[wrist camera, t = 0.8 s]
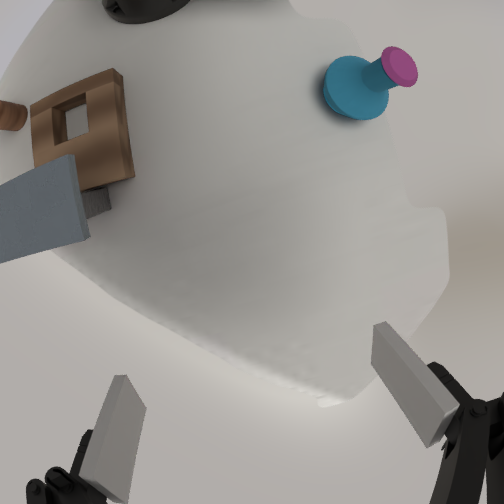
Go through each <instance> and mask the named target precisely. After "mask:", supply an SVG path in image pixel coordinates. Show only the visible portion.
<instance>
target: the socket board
mask: <svg viewBox="0 0 504 504" xmlns="http://www.w3.org/2000/svg"><path fill="white" fill-rule="evenodd" d="M84 103H86V104H87V116H88V127H89V132H88V133H86V134H83V135H80V136H78V137H75V138H73V139H70V140H67V130H66V117H65V111H68V110H70V109H72V108H74V107H77V106H79V105H82V104H84ZM30 118H31V136H32V148H33V158H34V166H35V168H37V167H39V166H41V165H43V164H45V163H48V162H50V161H52V160H55V159H57V158H59V157H62V156H64V155H67V154H72V155H74V156H75V163H76V169H77V176H78V181H79V187H80V192H83V191H86V190H90V189H93V188H96V187H99V186H103V185H106V184H110V183H113V182H117V181H120V180H124V179H128V178H131V177H135V172H134V166H133V160H132V154H131V147H130V140H129V133H128V125H127V117H126V108H125V99H124V88H123V76H122V75H120V74H119V73H118V72H117V71H116V70H115V69H113V68H111V69H108V70H106V71H103V72H100V73H98V74H95V75H93V76H90V77H88V78H85V79H83V80H81V81H78V82H76V83H74V84H72V85H69V86H67V87H65V88H63V89H61V90H59V91H57V92H55V93H53V94H51V95H49V96H47V97H45V98H43V99H41V100H39V101H38V102H36V103H34V104H32V105H30Z"/></svg>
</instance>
